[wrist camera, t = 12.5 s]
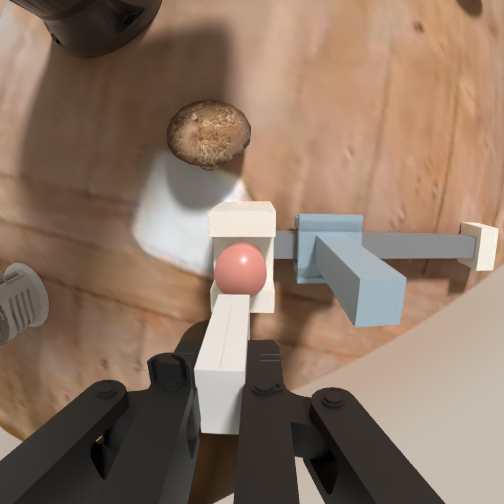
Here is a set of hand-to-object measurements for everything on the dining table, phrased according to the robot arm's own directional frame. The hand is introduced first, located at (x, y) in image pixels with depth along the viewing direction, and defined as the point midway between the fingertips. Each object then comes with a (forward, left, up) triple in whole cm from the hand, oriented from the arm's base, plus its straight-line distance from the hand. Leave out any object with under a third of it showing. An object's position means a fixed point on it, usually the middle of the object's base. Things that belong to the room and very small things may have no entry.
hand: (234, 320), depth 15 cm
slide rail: (+14, 0, -19) cm, 24 cm away
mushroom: (-4, +11, -20) cm, 23 cm away
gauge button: (0, 0, -9) cm, 9 cm away
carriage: (+8, 0, -18) cm, 19 cm away
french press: (-32, -7, -20) cm, 38 cm away
